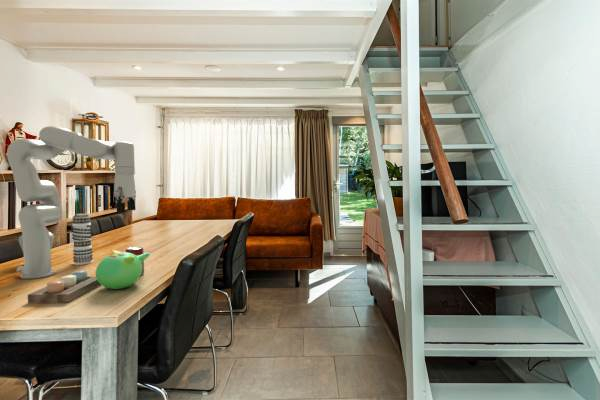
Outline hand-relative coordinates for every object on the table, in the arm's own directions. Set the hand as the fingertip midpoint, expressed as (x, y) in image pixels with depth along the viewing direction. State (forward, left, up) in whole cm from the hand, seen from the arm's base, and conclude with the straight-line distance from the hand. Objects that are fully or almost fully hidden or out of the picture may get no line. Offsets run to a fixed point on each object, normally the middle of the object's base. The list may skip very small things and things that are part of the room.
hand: (126, 211), depth 150 cm
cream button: (-13, -20, -26) cm, 35 cm away
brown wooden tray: (-13, -20, -29) cm, 37 cm away
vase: (-59, +27, -29) cm, 71 cm away
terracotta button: (-13, -27, -26) cm, 39 cm away
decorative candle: (-36, +27, -29) cm, 54 cm away
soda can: (+1, +4, -29) cm, 29 cm away
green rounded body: (+4, -14, -29) cm, 32 cm away
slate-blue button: (-13, -13, -26) cm, 32 cm away
